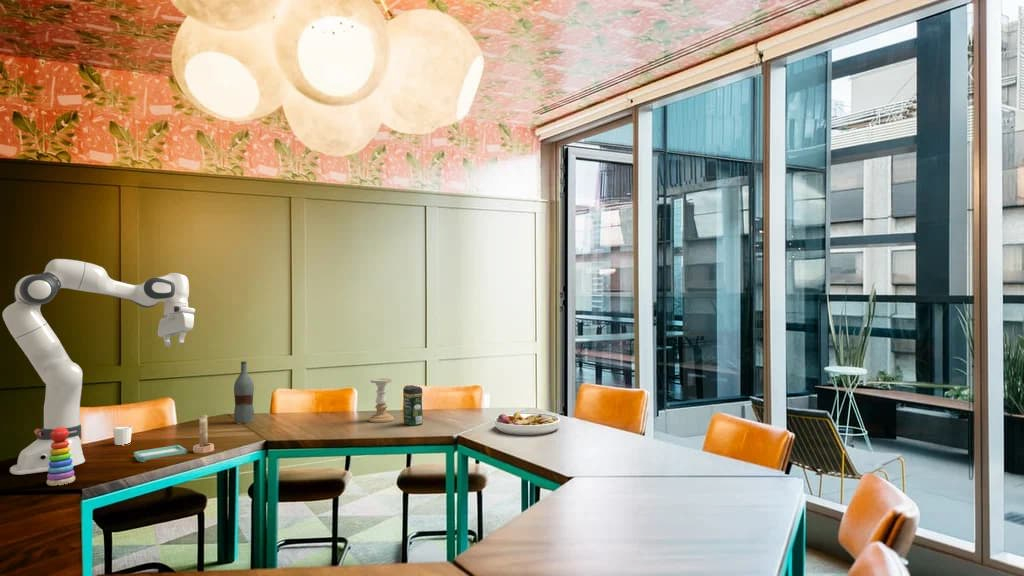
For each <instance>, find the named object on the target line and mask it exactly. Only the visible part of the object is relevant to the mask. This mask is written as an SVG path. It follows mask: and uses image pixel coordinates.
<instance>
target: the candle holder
mask: <svg viewBox="0 0 1024 576" xmlns="http://www.w3.org/2000/svg"><path fill="white" fill-rule="evenodd" d="M392 382H393V379H392V378H373V379H370V383H371V384H375V386H376V387H377V390H376V391H375V392H376V394H377V395H376V399H375V403H376V405H375V406H374V409H376V413H375V414H373V415H372V416H370V417H369V418H368V422H369V423H375V424H376V423H378V424H381V423H382V424H384V423H389V422H393V421H394V420H395V418H394V416H393V415H391V414H389V413H387V408H388V405H387V402H388V400H387V397H386V393H387V390H386V389H385V387H386V386H387V384H389V383H392Z"/></svg>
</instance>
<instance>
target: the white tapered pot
mask: <svg viewBox="0 0 1024 576" xmlns="http://www.w3.org/2000/svg"><path fill="white" fill-rule="evenodd" d="M112 430H113V431H112V432H113V438H114V440H113V441H114V445H115V444H116V445H122V446H125V445H124V444H128V443H130V442H131V440H132V434H133V433H132V432H133V431H132V430H133V426H132V425H131V426H130V425H128V426H127V425H125V426H124V425H123V426H118V427H116V426H115V427H114V428H113V429H112ZM130 444H131V443H130ZM116 445H115V446H116ZM128 445H129V444H128Z"/></svg>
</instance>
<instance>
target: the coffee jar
mask: <svg viewBox="0 0 1024 576" xmlns="http://www.w3.org/2000/svg"><path fill="white" fill-rule="evenodd" d="M402 393H403V394H402V395H403V424H405V425H407V426H417V427H418V426H420V425H423V424H424V423H423V422H424V420H423V418H424V417H423V388H422V387H421V386H417V385H414V384H410V385H409V384H408V385H405V386H404V387H403V390H402Z"/></svg>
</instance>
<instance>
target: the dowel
mask: <svg viewBox="0 0 1024 576" xmlns="http://www.w3.org/2000/svg"><path fill="white" fill-rule="evenodd" d="M207 443H208V415H207V414H202V415H199V444H200V447H205V446H207Z"/></svg>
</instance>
